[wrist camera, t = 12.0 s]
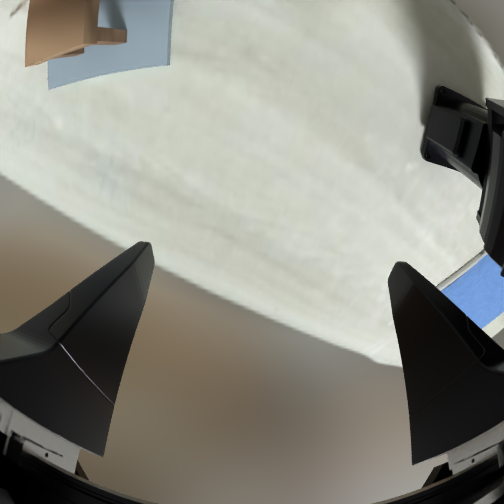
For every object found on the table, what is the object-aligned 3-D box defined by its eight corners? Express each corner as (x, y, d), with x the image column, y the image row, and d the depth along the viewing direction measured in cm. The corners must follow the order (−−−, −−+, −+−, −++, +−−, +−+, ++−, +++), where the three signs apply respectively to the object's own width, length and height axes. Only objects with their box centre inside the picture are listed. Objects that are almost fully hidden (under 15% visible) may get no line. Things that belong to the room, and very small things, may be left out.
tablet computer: (429, 286, 27) (433, 295, 26) (503, 227, 21) (509, 234, 20) (457, 338, 35) (459, 344, 34) (511, 298, 29) (514, 303, 28)
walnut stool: (127, 44, 13) (83, 44, 9) (73, 58, 13) (25, 67, 9) (133, -24, 9) (93, -42, 5) (77, -5, 9) (31, -11, 5)
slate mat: (181, -58, 8) (178, -60, 7) (169, 65, 15) (166, 65, 14) (58, -19, 8) (54, -19, 7) (52, 88, 15) (48, 89, 14)
